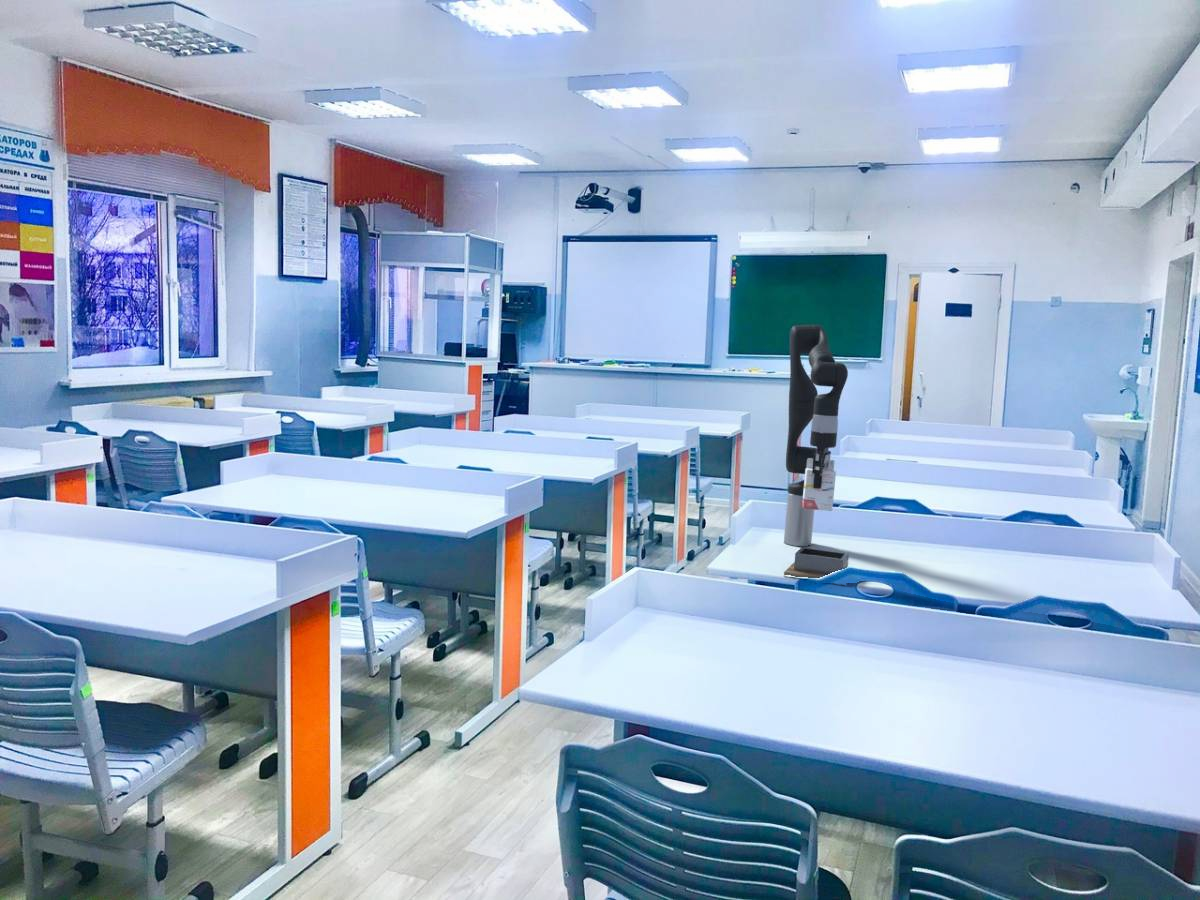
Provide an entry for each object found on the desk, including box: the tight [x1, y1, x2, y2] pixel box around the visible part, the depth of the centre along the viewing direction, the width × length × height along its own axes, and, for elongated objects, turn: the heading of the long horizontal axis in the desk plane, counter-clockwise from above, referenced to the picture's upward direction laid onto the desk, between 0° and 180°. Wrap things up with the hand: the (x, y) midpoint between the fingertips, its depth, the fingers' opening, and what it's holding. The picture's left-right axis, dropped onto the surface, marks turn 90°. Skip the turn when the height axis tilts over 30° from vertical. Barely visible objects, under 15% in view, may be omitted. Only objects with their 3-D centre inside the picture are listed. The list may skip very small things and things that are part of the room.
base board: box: [783, 561, 825, 578], centre depth 289 cm, size 18×18×2 cm
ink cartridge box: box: [802, 458, 837, 512], centre depth 287 cm, size 9×5×15 cm, turn 83°
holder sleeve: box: [793, 546, 850, 575], centre depth 288 cm, size 10×14×5 cm
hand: (819, 486), depth 287 cm, fingers closed on ink cartridge box, 5 cm apart
